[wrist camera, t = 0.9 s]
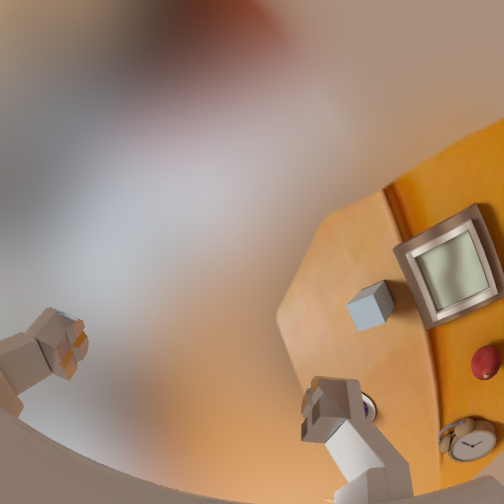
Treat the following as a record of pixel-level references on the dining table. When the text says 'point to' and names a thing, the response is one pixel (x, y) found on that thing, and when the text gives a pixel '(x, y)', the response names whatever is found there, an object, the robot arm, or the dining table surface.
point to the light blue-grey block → (371, 306)
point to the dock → (452, 267)
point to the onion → (486, 362)
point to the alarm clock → (468, 440)
